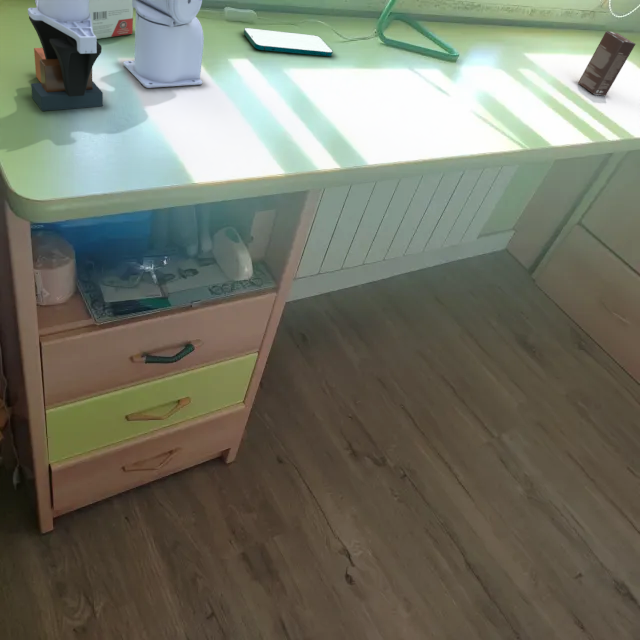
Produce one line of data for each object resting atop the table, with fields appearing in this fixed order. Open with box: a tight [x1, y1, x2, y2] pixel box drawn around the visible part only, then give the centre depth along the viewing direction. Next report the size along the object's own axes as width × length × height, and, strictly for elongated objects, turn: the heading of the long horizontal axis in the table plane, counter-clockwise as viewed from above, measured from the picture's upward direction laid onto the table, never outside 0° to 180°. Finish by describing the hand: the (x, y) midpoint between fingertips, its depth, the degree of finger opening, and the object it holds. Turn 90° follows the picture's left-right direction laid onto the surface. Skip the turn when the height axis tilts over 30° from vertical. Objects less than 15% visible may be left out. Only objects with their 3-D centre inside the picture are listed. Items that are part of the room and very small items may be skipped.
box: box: [577, 30, 637, 96], centre depth 137 cm, size 6×4×12 cm
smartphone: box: [243, 27, 334, 57], centre depth 115 cm, size 8×1×16 cm
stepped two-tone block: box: [30, 59, 104, 112], centre depth 79 cm, size 8×4×6 cm, turn 127°
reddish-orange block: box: [33, 47, 46, 83], centre depth 83 cm, size 4×4×4 cm
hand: (67, 84), depth 79 cm, fingers open, 5 cm apart
